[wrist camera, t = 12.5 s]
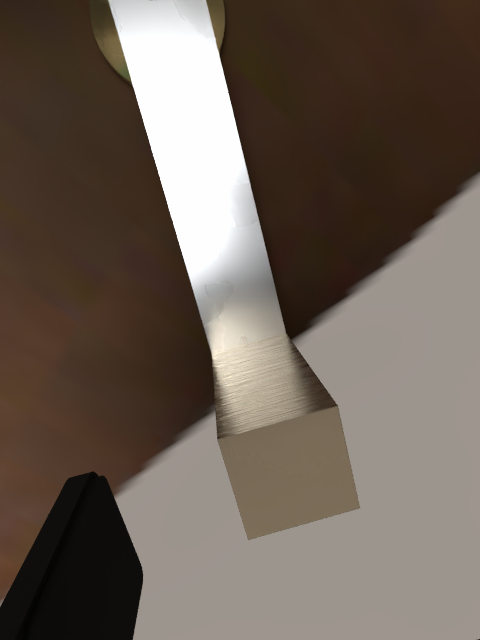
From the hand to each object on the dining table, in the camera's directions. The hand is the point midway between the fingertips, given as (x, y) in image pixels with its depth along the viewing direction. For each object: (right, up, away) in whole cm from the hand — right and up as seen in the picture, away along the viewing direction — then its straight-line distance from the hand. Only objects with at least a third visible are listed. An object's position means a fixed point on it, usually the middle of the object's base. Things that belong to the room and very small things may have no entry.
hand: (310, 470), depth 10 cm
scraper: (-3, +10, +8) cm, 13 cm away
